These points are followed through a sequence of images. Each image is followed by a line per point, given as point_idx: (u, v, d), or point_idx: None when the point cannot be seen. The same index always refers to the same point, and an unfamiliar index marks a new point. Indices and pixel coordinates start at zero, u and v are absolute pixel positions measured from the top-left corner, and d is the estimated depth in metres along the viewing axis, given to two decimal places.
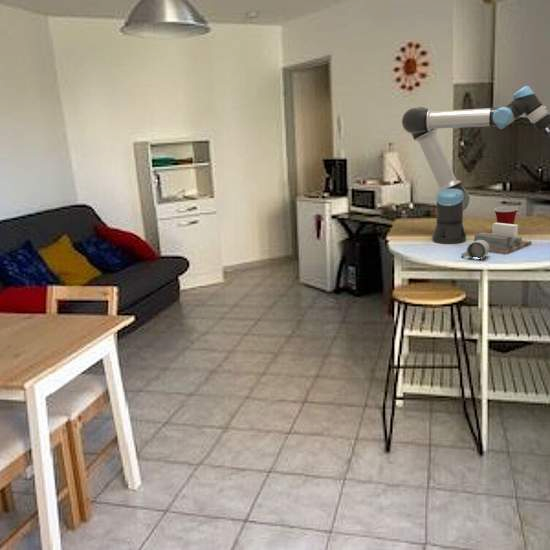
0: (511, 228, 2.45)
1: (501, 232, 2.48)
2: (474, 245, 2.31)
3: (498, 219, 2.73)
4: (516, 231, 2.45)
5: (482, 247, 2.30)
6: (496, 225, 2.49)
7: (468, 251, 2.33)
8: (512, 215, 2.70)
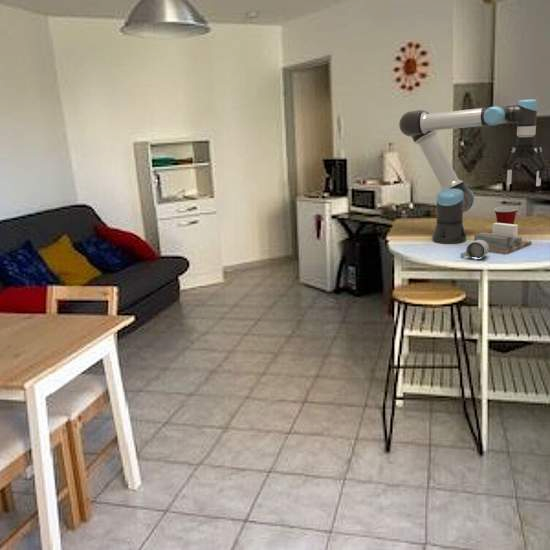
0: (511, 228, 2.45)
1: (501, 232, 2.48)
2: (473, 245, 2.31)
3: (498, 219, 2.73)
4: (516, 231, 2.45)
5: (481, 247, 2.30)
6: (496, 225, 2.49)
7: (467, 251, 2.33)
8: (512, 215, 2.70)
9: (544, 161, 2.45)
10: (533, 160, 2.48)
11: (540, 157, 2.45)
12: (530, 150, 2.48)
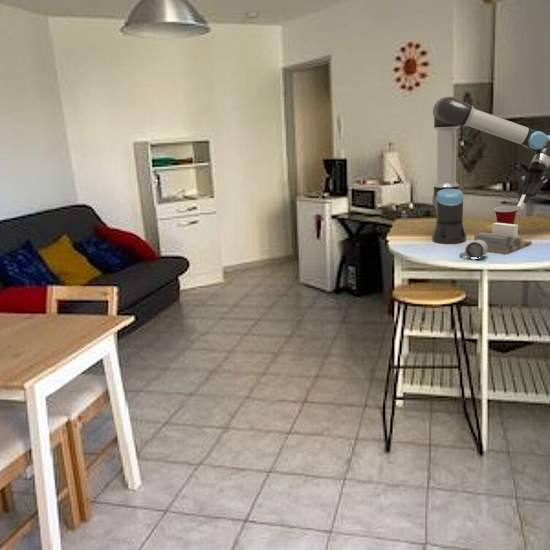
0: (511, 228, 2.45)
1: (501, 232, 2.48)
2: (472, 245, 2.31)
3: (498, 219, 2.73)
4: (516, 231, 2.45)
5: (480, 247, 2.30)
6: (496, 225, 2.49)
7: (466, 251, 2.33)
8: (512, 215, 2.70)
9: (537, 189, 2.53)
10: (531, 184, 2.55)
11: (539, 184, 2.53)
12: (539, 175, 2.55)
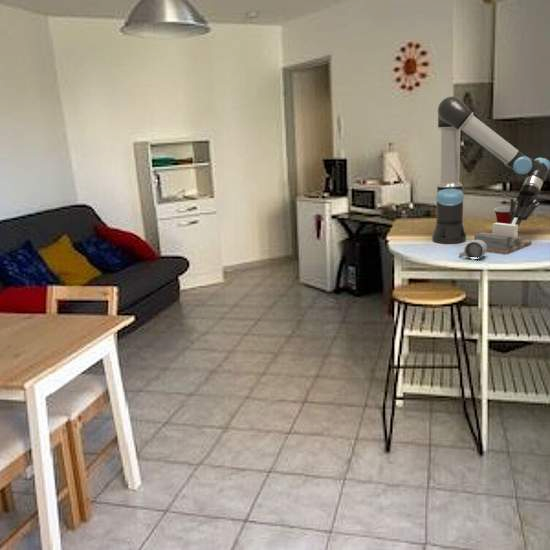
0: (511, 228, 2.45)
1: (501, 232, 2.48)
2: (472, 245, 2.32)
3: (498, 219, 2.73)
4: (516, 231, 2.45)
5: (480, 247, 2.30)
6: (496, 225, 2.49)
7: (466, 251, 2.34)
8: None
9: (529, 212, 2.52)
10: (523, 207, 2.53)
11: (530, 207, 2.51)
12: (531, 197, 2.54)
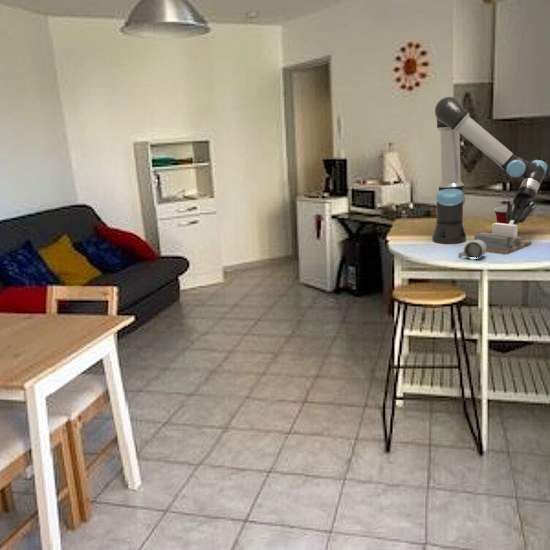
0: (511, 228, 2.44)
1: (501, 232, 2.48)
2: (471, 245, 2.32)
3: (498, 219, 2.73)
4: (516, 231, 2.45)
5: (479, 247, 2.30)
6: (496, 225, 2.49)
7: (465, 251, 2.34)
8: None
9: (526, 215, 2.50)
10: (520, 210, 2.52)
11: (527, 210, 2.50)
12: (528, 200, 2.52)
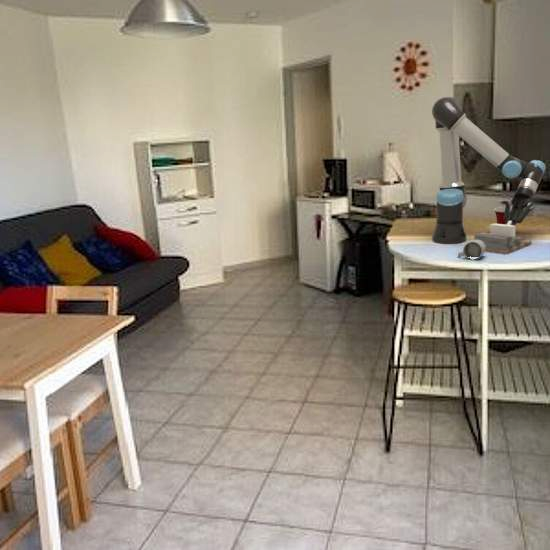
0: (509, 229, 2.43)
1: (499, 233, 2.47)
2: (470, 245, 2.32)
3: (498, 219, 2.73)
4: (514, 232, 2.44)
5: (478, 247, 2.31)
6: (494, 226, 2.48)
7: (464, 251, 2.34)
8: None
9: (524, 216, 2.49)
10: (518, 210, 2.51)
11: (525, 210, 2.49)
12: (526, 200, 2.51)
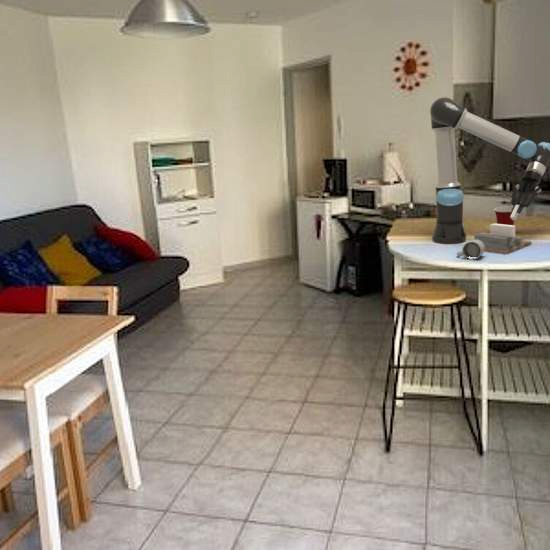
0: (509, 229, 2.43)
1: (499, 233, 2.47)
2: (469, 245, 2.32)
3: (498, 219, 2.73)
4: (514, 232, 2.44)
5: (477, 247, 2.31)
6: (494, 226, 2.48)
7: (464, 251, 2.34)
8: None
9: (531, 200, 2.52)
10: (525, 194, 2.54)
11: (532, 194, 2.52)
12: (533, 184, 2.54)
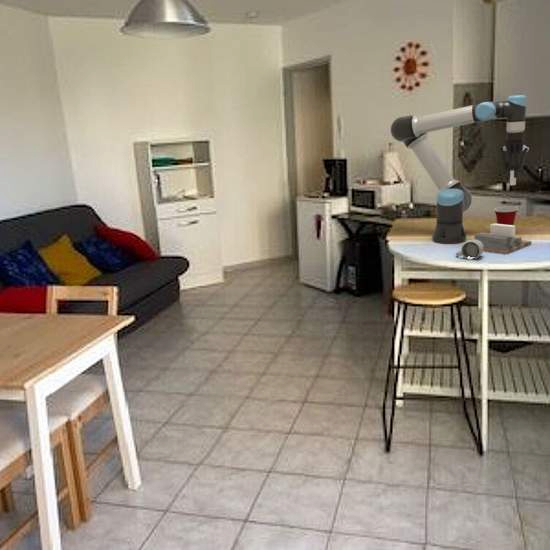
0: (509, 229, 2.43)
1: (499, 233, 2.47)
2: (468, 245, 2.32)
3: (498, 219, 2.73)
4: (514, 232, 2.44)
5: (476, 247, 2.31)
6: (494, 226, 2.48)
7: (462, 251, 2.34)
8: (512, 215, 2.70)
9: (523, 162, 2.53)
10: (515, 158, 2.54)
11: (522, 157, 2.51)
12: (519, 145, 2.51)
